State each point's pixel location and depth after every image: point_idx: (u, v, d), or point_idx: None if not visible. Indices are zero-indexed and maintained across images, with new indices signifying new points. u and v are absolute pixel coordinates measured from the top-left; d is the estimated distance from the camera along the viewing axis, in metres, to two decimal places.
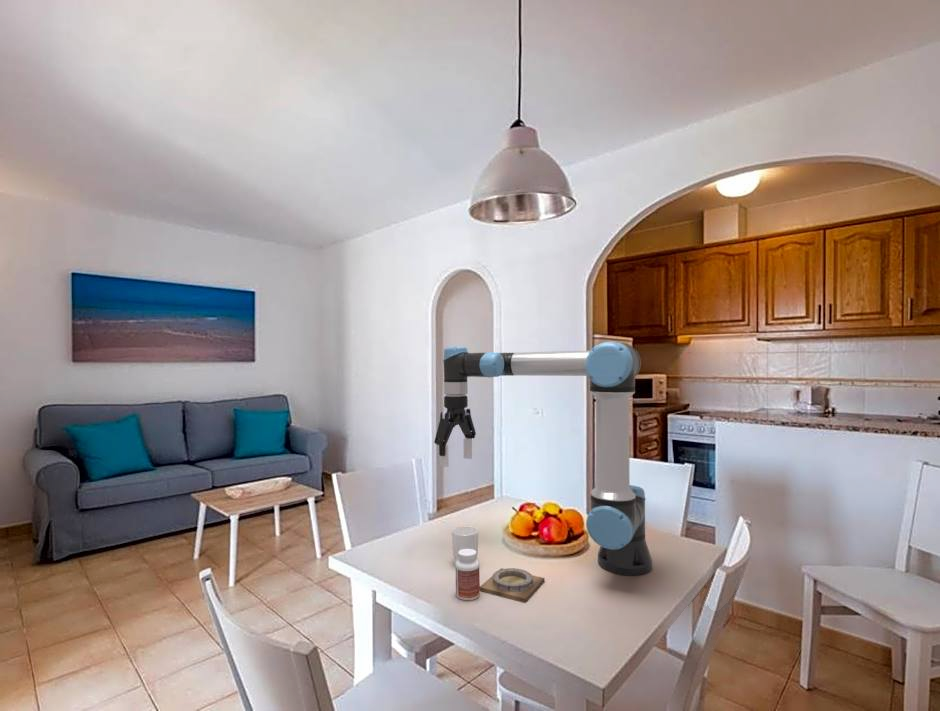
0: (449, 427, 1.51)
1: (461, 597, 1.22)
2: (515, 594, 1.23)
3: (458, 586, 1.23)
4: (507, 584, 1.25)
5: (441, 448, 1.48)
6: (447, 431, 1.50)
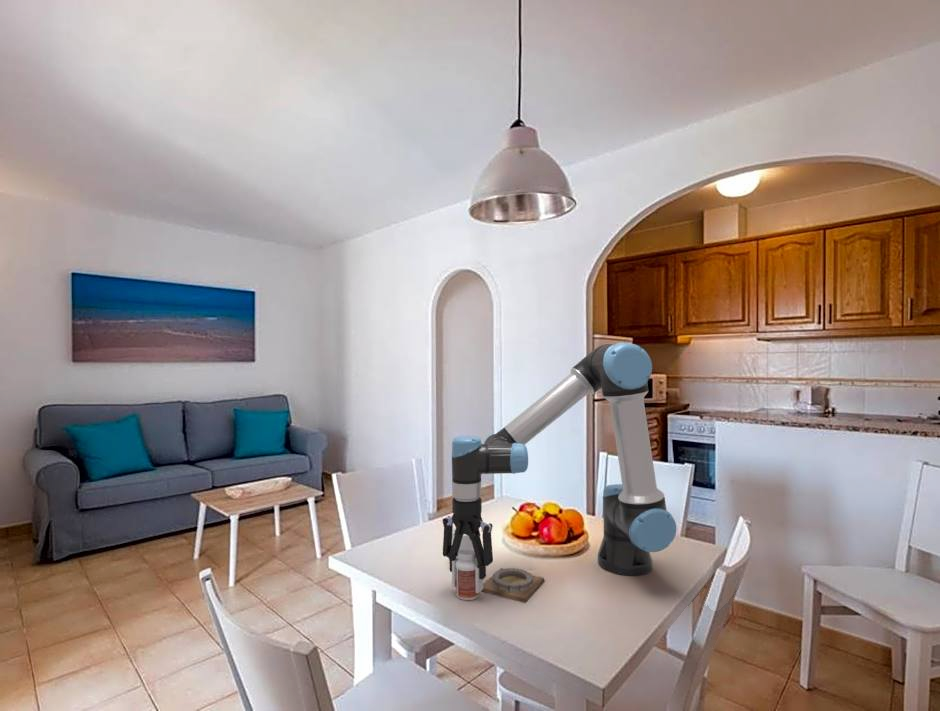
0: None
1: (461, 597, 1.22)
2: (515, 594, 1.23)
3: (458, 586, 1.23)
4: (507, 584, 1.25)
5: None
6: None
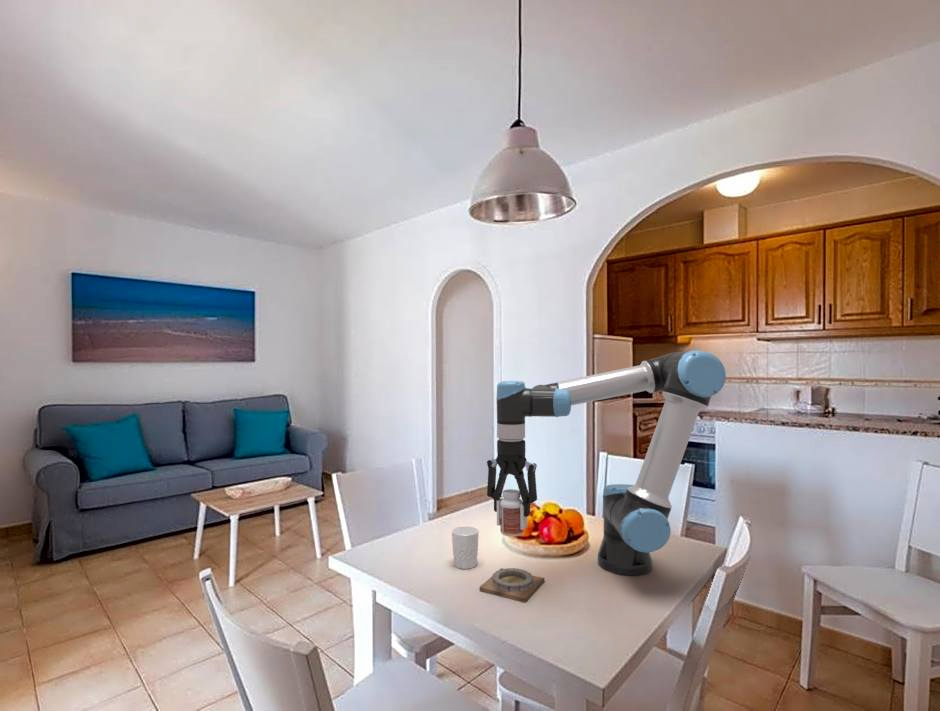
0: None
1: (506, 533, 1.27)
2: (515, 594, 1.23)
3: (503, 523, 1.28)
4: (507, 584, 1.25)
5: None
6: None
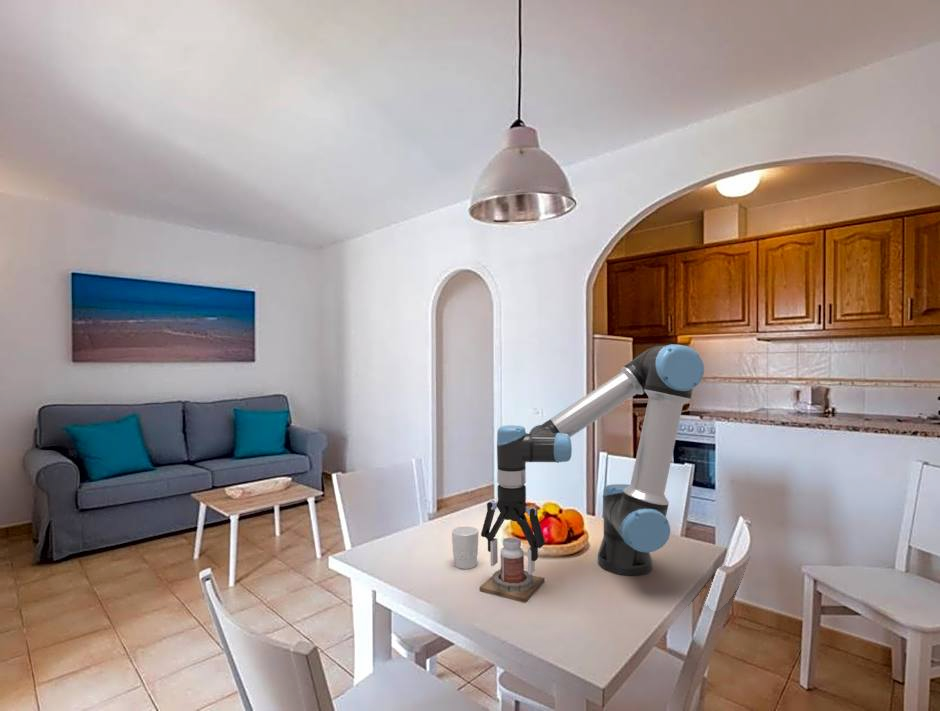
0: None
1: None
2: (515, 594, 1.23)
3: (504, 573, 1.28)
4: (507, 584, 1.25)
5: None
6: None
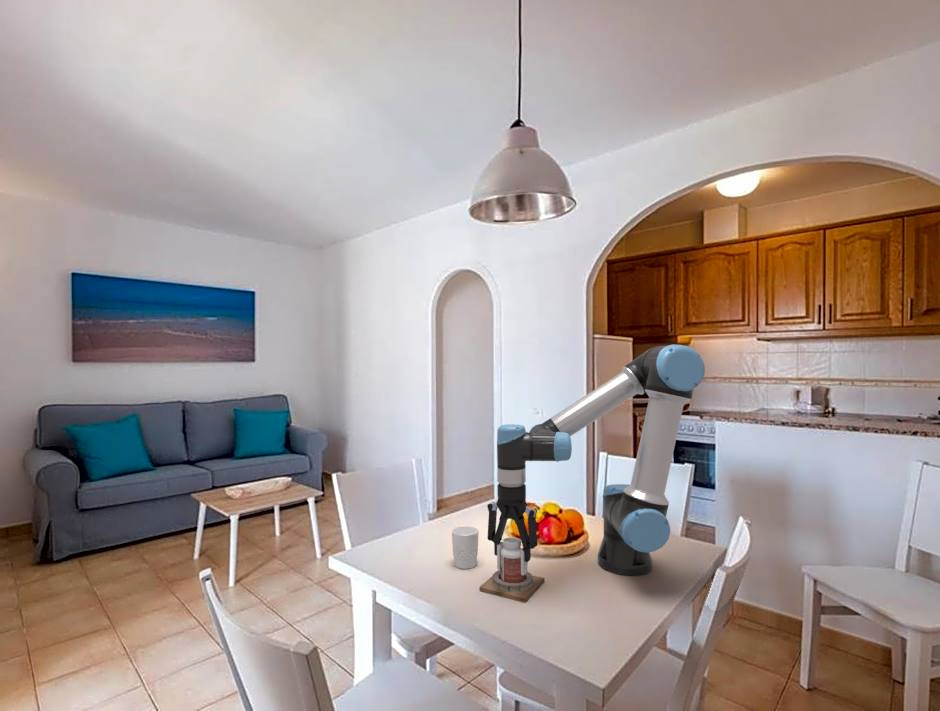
0: None
1: None
2: (515, 594, 1.23)
3: (504, 573, 1.28)
4: (507, 584, 1.25)
5: None
6: None
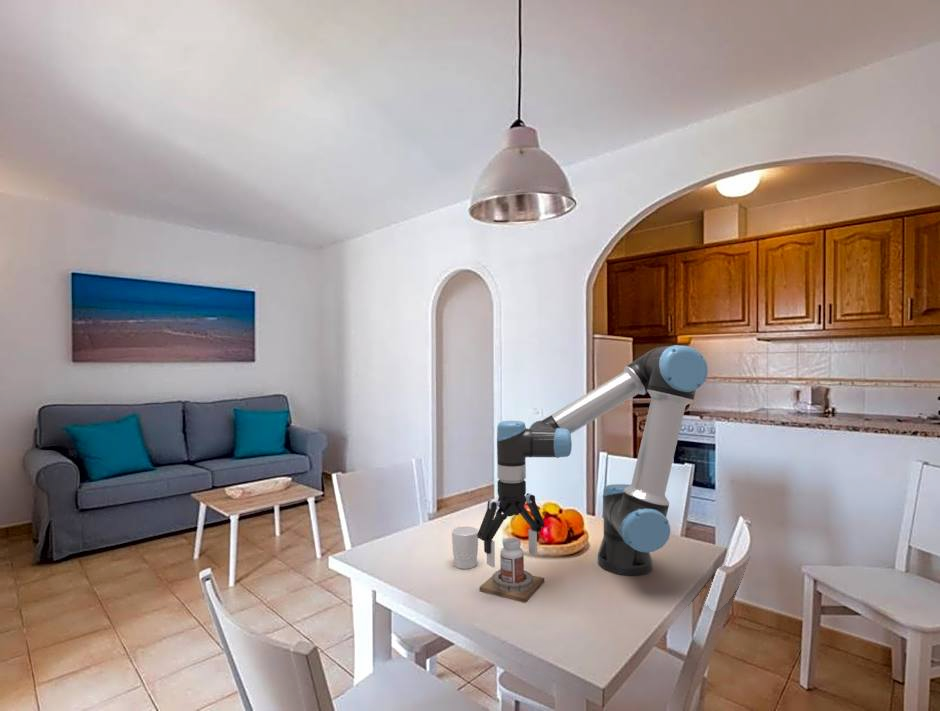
0: (498, 519, 1.27)
1: None
2: (515, 594, 1.23)
3: (515, 575, 1.26)
4: (507, 584, 1.25)
5: (485, 544, 1.25)
6: (495, 524, 1.26)
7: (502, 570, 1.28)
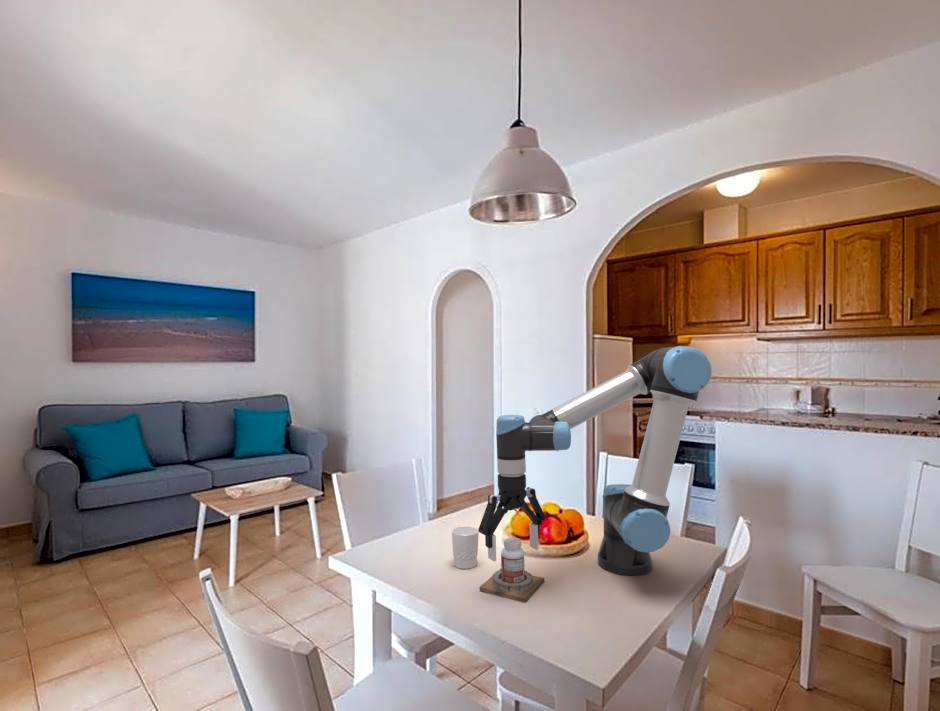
0: (499, 513, 1.27)
1: None
2: (515, 594, 1.23)
3: None
4: (507, 584, 1.25)
5: (487, 538, 1.25)
6: (496, 518, 1.26)
7: (513, 573, 1.26)
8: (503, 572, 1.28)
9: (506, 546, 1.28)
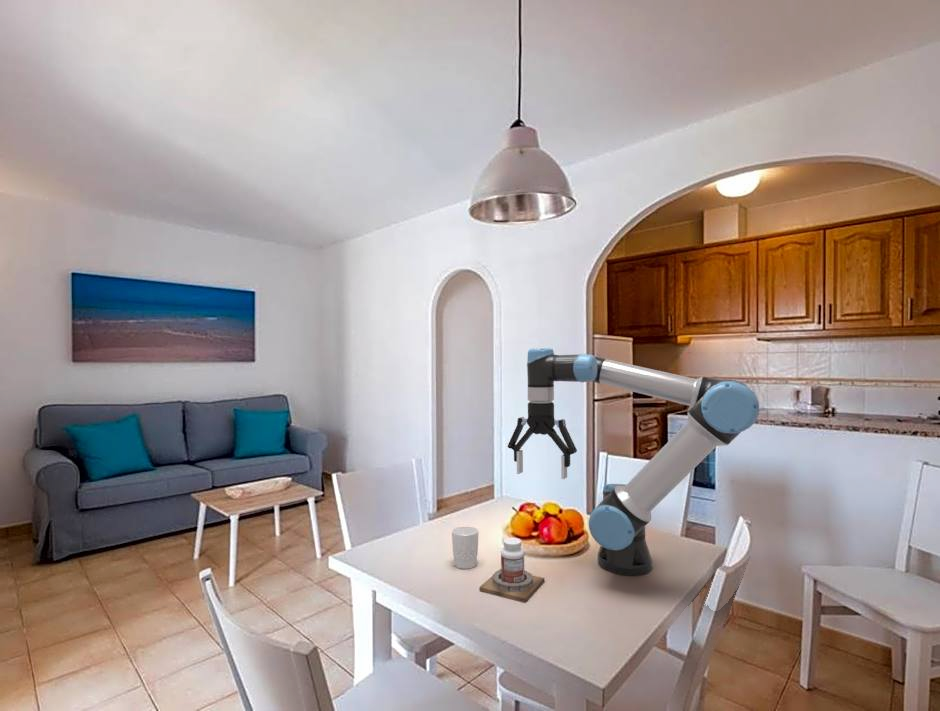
0: None
1: None
2: (515, 594, 1.23)
3: None
4: (507, 584, 1.25)
5: None
6: None
7: (513, 573, 1.26)
8: (503, 572, 1.28)
9: (506, 546, 1.28)
